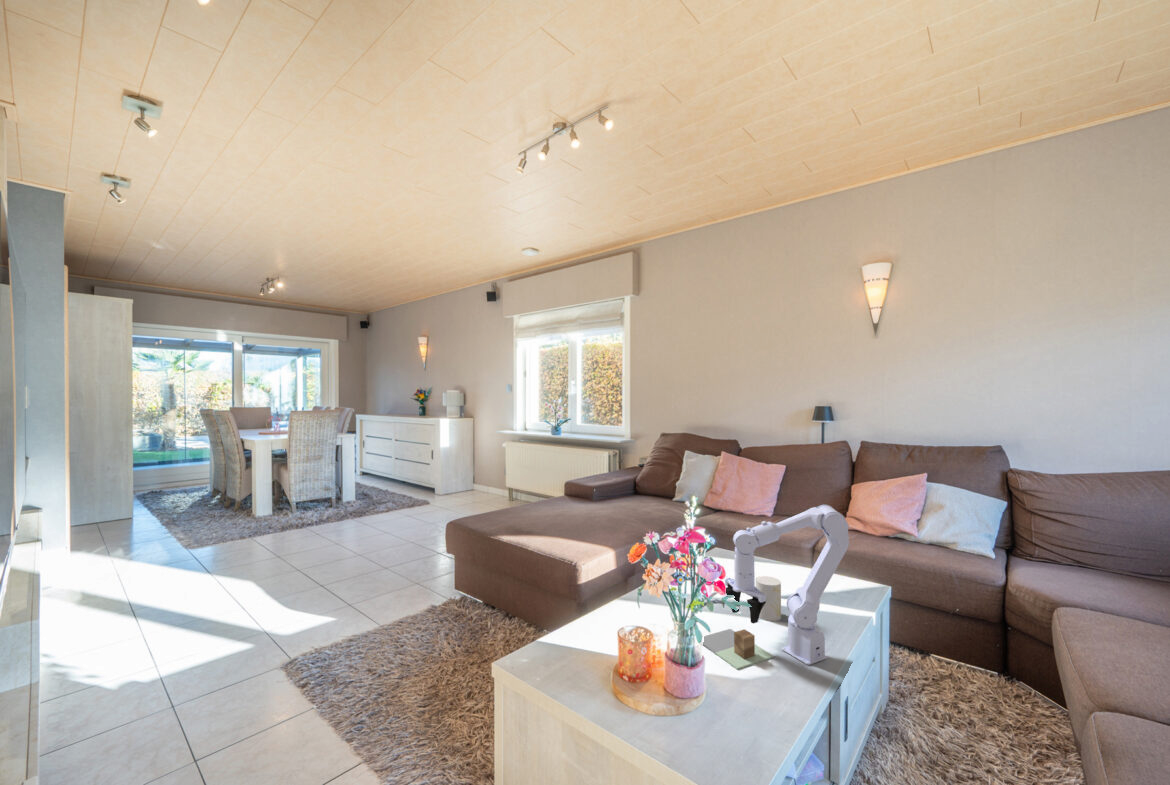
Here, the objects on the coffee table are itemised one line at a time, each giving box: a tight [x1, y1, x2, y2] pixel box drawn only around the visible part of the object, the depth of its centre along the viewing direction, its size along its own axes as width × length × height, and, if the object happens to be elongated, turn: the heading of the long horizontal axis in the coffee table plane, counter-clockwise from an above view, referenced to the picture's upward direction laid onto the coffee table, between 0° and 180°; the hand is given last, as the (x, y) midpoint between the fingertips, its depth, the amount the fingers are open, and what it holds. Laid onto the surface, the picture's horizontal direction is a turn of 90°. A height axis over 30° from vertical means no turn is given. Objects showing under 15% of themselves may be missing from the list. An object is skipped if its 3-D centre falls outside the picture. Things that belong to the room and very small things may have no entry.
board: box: [702, 628, 775, 670], centre depth 144 cm, size 18×14×1 cm
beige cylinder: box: [755, 575, 782, 622], centre depth 166 cm, size 8×8×12 cm
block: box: [734, 629, 756, 659], centre depth 140 cm, size 4×4×6 cm
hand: (744, 617), depth 144 cm, fingers open, 7 cm apart
